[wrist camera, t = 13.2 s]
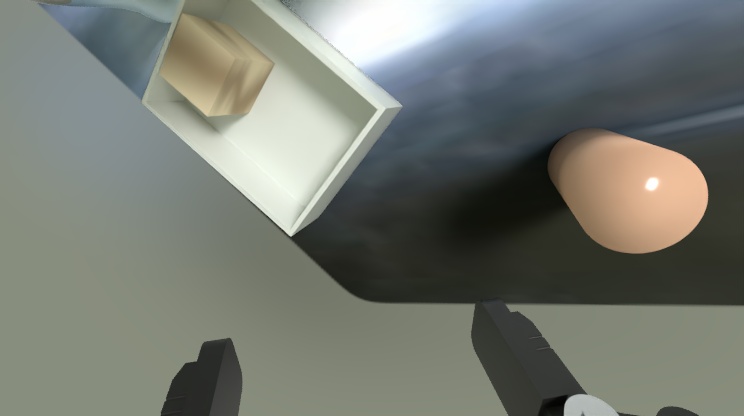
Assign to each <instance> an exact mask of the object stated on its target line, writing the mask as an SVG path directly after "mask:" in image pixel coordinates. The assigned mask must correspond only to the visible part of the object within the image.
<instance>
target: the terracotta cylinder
mask: <svg viewBox="0 0 744 416" xmlns="http://www.w3.org/2000/svg"><path fill="white" fill-rule="evenodd" d="M547 168H548V174H549V177H550V179H551V181H552V183H553V184H554V186H555V187H556V189H557V190H558V192H559V193H560V195H561V196H562V198H563V199H564V201H565V202H566V204H567V205H568V207H569V208H570V210H571V211H572V213H573V214H574V216H575V217H576V219H577V220H578V222H579V223H580V224H581V226H582V227H583V229H584V230H585V232H586V233H587V234H588V235H589V236H590V237H591V238H592V239H593V240H595V241H596V242H597V243H599V244H601V245H602V246H604V247H607V248H609V249H612V250H615V251H619V252H625V253H647V252H653V251H657V250H660V249H663V248H666V247H669V246H671V245H673V244H675V243H677V242H678V241H680V240H681V239H683V238H684V237H685V236H687V235H688V234H689V233H690V232H691V231H692V230H693V229H694V228H695V227H696V226H697V224H698V223H699V221H700V220H701V218H702V216H703V214H704V212H705V209H706V206H707V201H708V190H707V184H706V181H705V178H704V176H703V175H702V173H701V171H700V170H699V169H698V167H697V166H696V165H695V164H694V163H693V162H691V161H690V160H689V159H687V158H686V157H684V156H683V155H681V154H678V153H676V152H673V151H670V150H667V149H664V148H661V147H658V146H655V145H652V144H649V143H645V142H642V141H639V140H636V139H633V138H630V137H627V136H624V135H620V134H617V133H614V132H611V131H608V130H605V129H601V128H583V129H579V130H576V131H573V132H571V133H569V134H567V135H566V136H564V137H563V138H562V139H560V140H559V141H558V142H557V143H556V145H555V146H554V147H553V149H552V151H551V153H550V155H549V158H548V165H547Z"/></svg>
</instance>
